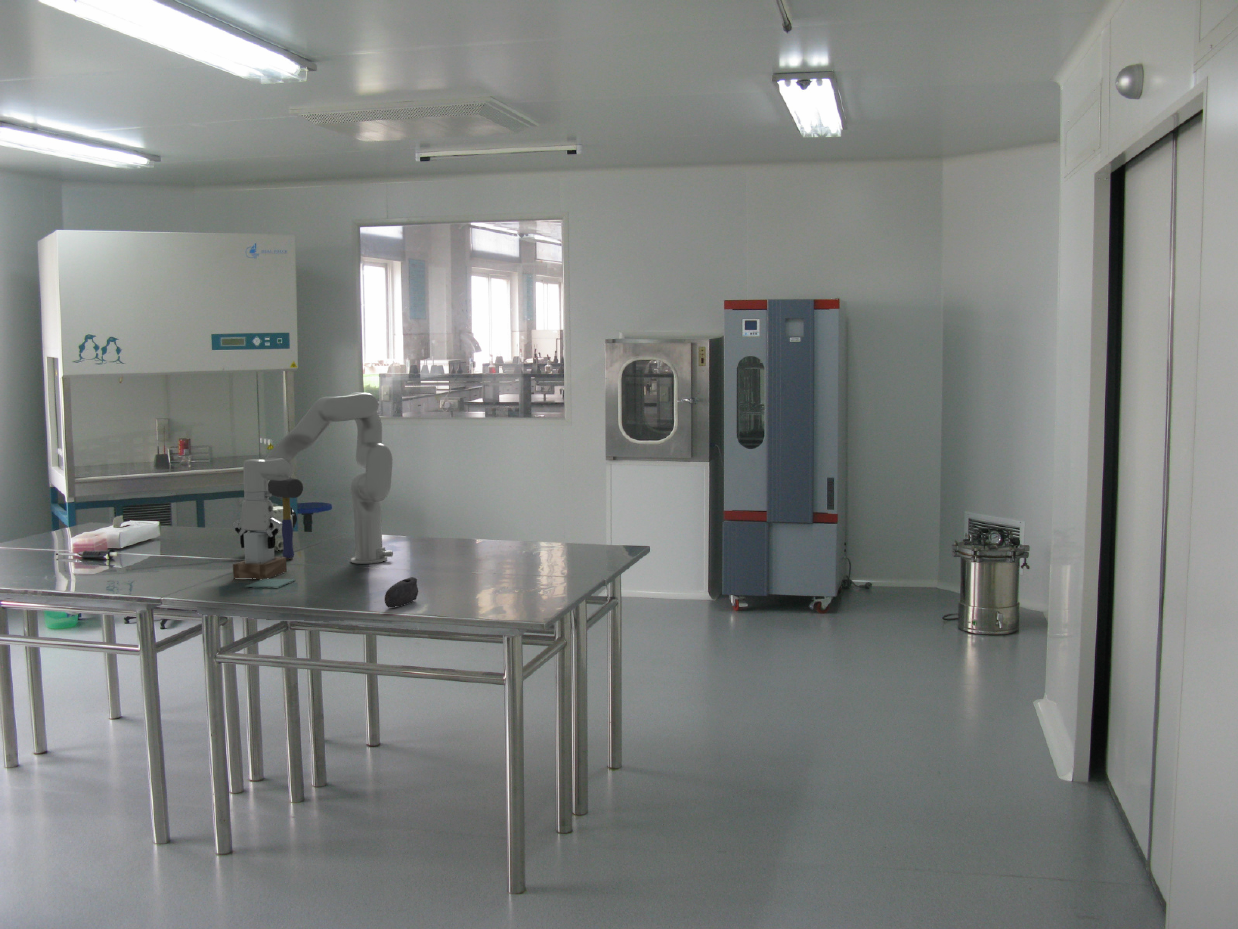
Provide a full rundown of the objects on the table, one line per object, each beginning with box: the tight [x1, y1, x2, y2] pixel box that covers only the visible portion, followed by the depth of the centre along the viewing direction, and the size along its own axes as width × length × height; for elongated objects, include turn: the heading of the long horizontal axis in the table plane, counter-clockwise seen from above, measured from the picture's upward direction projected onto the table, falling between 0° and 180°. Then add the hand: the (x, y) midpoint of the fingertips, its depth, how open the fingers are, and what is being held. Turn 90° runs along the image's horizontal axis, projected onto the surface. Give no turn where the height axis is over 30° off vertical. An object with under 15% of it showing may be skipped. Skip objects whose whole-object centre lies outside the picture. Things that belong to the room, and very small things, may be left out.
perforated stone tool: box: [384, 576, 419, 608], centre depth 285 cm, size 15×5×7 cm, turn 157°
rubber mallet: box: [268, 477, 304, 561], centre depth 358 cm, size 12×8×30 cm, turn 55°
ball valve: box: [249, 503, 298, 552], centre depth 378 cm, size 18×8×18 cm, turn 147°
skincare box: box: [243, 531, 275, 564], centre depth 331 cm, size 8×6×15 cm
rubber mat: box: [245, 578, 296, 588], centre depth 317 cm, size 11×11×1 cm
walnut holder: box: [232, 556, 288, 579], centre depth 331 cm, size 12×14×5 cm
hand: (258, 547), depth 330 cm, fingers open, 9 cm apart
